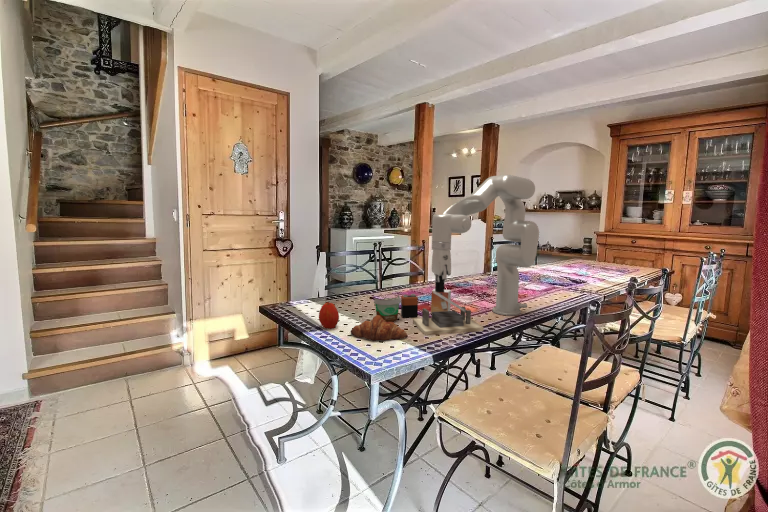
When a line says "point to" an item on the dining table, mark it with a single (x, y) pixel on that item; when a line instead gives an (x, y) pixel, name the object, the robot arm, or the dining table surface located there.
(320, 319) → the red egg
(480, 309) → the dining table surface
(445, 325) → the heatsink board
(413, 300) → the battery
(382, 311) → the food container
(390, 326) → the pastry
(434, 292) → the clamp bar
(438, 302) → the small box
